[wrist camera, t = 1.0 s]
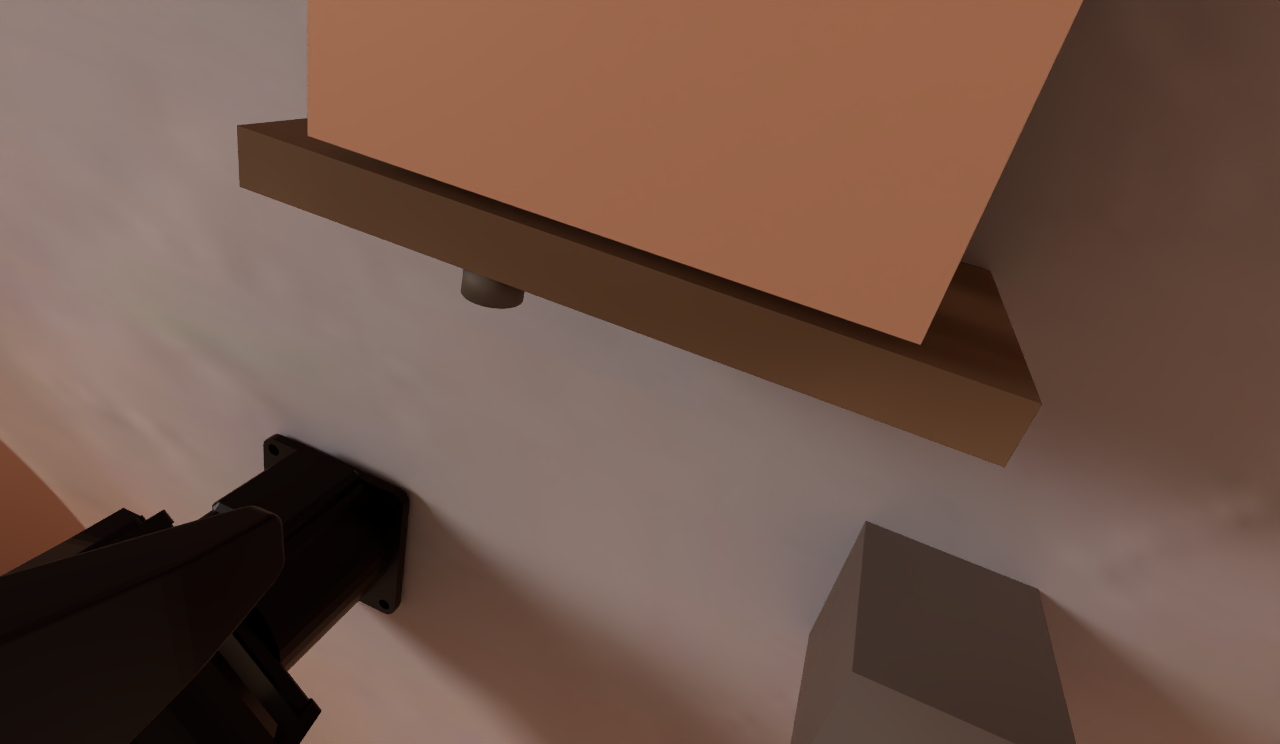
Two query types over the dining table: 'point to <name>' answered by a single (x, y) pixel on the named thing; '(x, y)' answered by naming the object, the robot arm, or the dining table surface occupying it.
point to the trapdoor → (709, 125)
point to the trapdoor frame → (674, 296)
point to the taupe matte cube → (928, 654)
